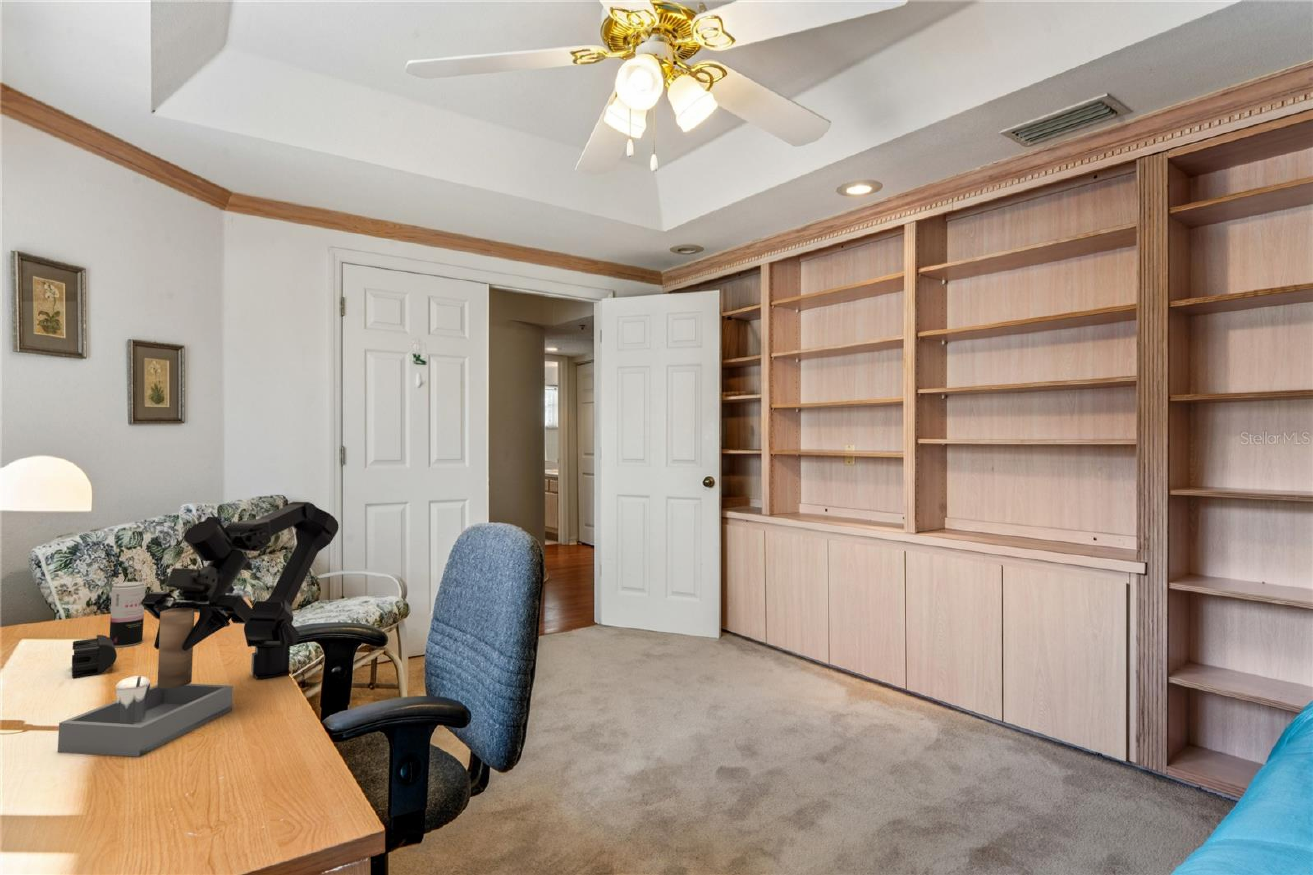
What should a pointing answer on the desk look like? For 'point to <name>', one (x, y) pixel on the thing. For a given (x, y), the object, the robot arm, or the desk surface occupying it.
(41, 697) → the desk surface
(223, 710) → the tray
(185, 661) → the walnut cylinder
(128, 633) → the beverage can
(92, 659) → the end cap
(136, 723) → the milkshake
